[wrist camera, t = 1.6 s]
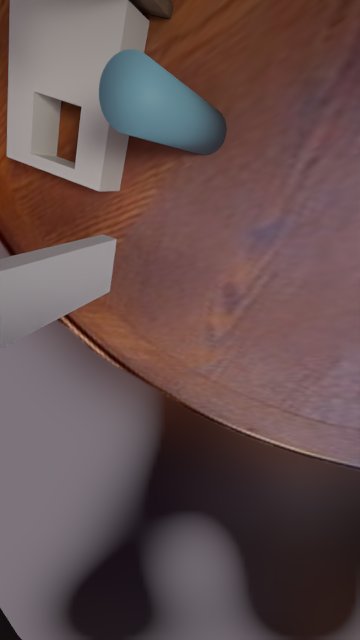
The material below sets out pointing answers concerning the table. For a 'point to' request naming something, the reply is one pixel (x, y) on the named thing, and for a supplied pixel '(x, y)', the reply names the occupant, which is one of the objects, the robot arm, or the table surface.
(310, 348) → the table surface
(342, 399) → the table surface
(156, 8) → the awning
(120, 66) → the peg
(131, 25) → the socket
